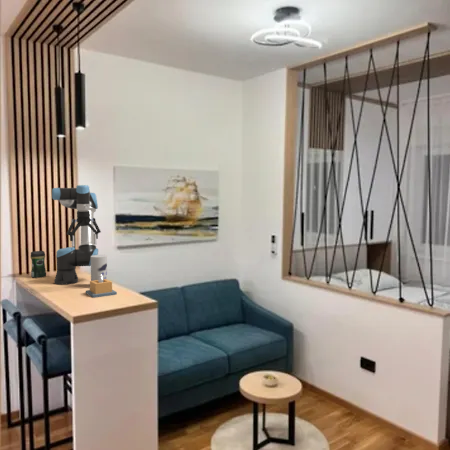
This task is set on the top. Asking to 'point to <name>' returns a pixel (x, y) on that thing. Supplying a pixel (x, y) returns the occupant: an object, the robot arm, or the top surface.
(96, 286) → the cardboard box
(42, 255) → the coffee jar
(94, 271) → the container
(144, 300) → the top surface
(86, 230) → the robot arm
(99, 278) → the keeper
